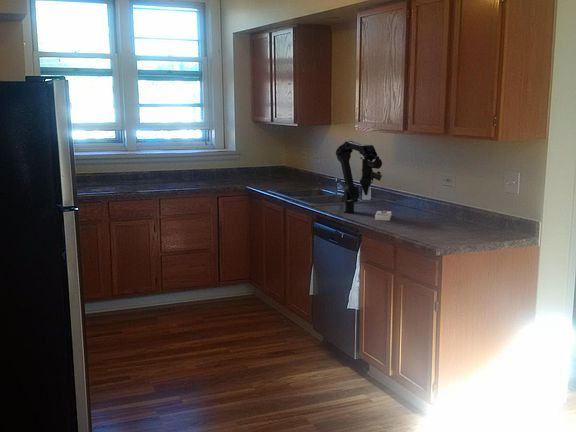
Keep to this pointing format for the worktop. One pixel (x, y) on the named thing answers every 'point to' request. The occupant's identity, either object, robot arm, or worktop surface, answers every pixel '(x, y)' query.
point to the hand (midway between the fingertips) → (366, 194)
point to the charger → (366, 197)
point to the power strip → (383, 215)
